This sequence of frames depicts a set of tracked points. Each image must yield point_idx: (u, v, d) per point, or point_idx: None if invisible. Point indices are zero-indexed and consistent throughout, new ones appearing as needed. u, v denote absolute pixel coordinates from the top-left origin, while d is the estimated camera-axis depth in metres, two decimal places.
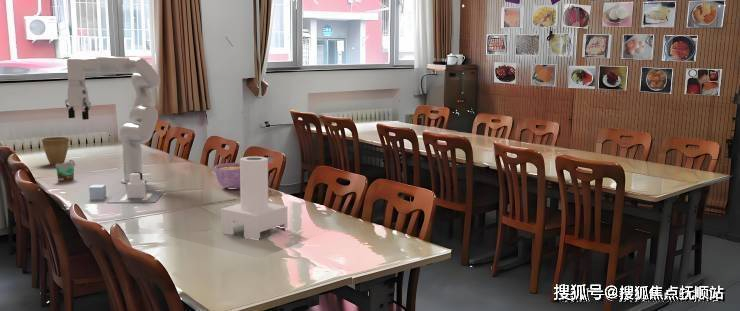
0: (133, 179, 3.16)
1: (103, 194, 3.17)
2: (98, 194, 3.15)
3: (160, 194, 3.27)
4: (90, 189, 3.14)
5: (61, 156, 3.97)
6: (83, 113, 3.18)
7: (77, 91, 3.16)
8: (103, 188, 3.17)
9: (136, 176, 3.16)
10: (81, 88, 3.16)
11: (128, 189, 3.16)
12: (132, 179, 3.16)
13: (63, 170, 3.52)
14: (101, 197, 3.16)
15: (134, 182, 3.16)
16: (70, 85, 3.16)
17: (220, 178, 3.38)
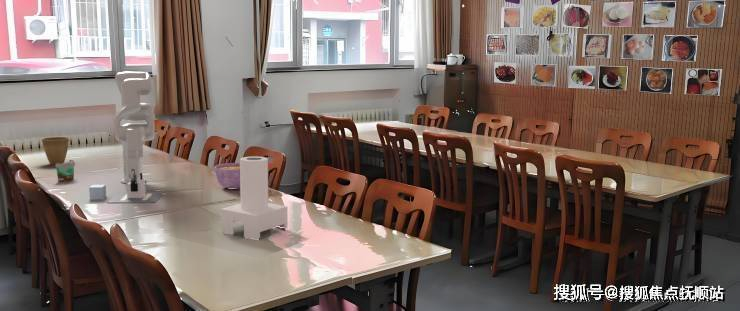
0: None
1: (103, 194, 3.17)
2: (98, 194, 3.15)
3: (160, 194, 3.27)
4: (90, 189, 3.14)
5: (61, 156, 3.97)
6: None
7: (141, 160, 3.21)
8: (103, 188, 3.17)
9: None
10: None
11: (128, 189, 3.16)
12: None
13: (63, 170, 3.52)
14: (101, 197, 3.16)
15: None
16: (142, 155, 3.18)
17: (220, 178, 3.38)
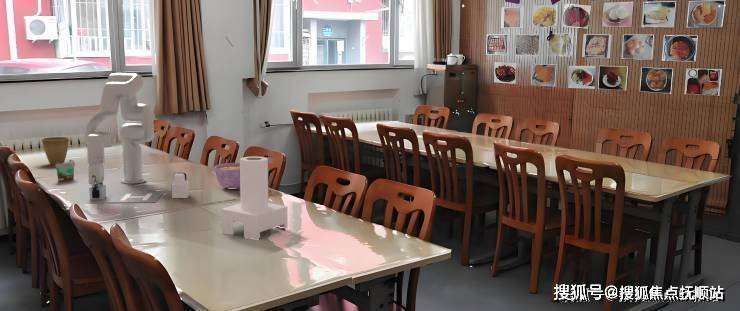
0: (178, 180, 3.19)
1: (103, 194, 3.17)
2: None
3: (160, 194, 3.27)
4: (90, 189, 3.14)
5: (61, 156, 3.97)
6: None
7: None
8: (103, 188, 3.17)
9: (181, 176, 3.19)
10: None
11: (173, 189, 3.19)
12: (177, 180, 3.19)
13: (63, 170, 3.52)
14: (101, 197, 3.16)
15: (179, 182, 3.19)
16: (104, 161, 3.16)
17: (220, 178, 3.38)
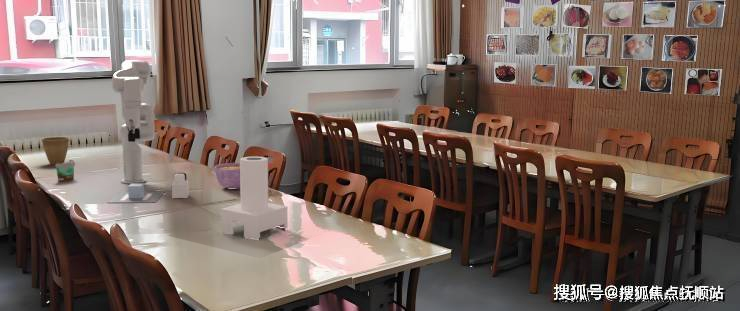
0: (178, 180, 3.19)
1: (141, 193, 3.19)
2: (137, 192, 3.17)
3: (160, 194, 3.27)
4: (129, 188, 3.16)
5: (61, 156, 3.97)
6: None
7: (139, 111, 3.17)
8: (141, 187, 3.19)
9: (181, 176, 3.19)
10: None
11: (173, 189, 3.19)
12: (177, 180, 3.19)
13: (63, 170, 3.52)
14: (140, 196, 3.18)
15: (179, 182, 3.19)
16: (141, 106, 3.14)
17: (220, 178, 3.38)
